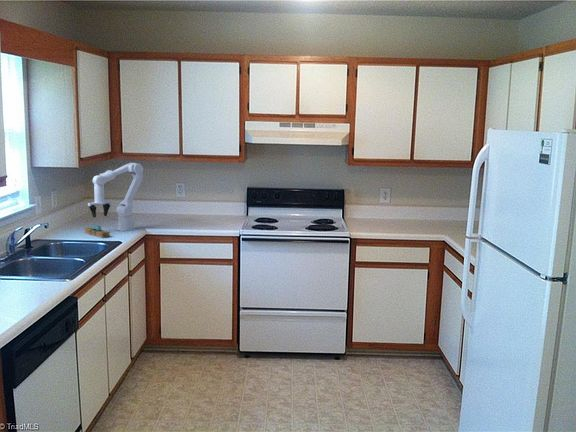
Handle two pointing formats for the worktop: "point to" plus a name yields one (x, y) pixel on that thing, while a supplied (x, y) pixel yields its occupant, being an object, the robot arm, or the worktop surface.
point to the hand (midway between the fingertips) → (99, 216)
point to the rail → (97, 232)
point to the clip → (96, 227)
